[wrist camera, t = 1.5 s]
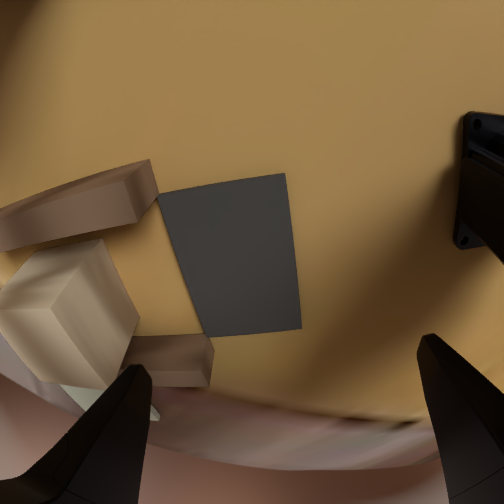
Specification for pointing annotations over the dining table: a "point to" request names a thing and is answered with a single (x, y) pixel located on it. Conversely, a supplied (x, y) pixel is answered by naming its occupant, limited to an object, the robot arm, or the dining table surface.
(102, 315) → the beech block
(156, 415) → the sage coaster
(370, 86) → the dining table surface
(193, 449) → the dining table surface
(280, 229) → the tile
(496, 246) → the robot arm
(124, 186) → the walnut channel
